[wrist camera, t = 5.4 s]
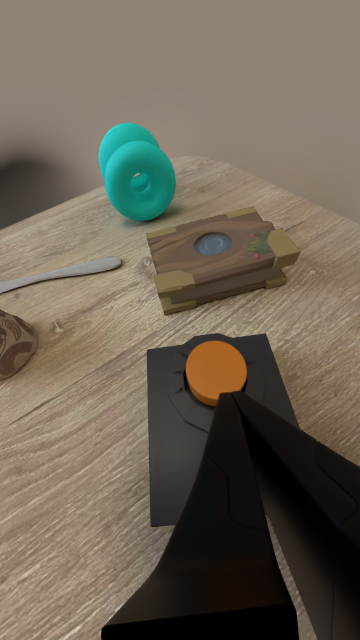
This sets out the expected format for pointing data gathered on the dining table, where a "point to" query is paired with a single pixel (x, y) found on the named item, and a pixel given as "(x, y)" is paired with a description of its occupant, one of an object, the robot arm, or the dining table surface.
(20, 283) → the butter knife
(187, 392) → the black button base
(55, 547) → the dining table surface
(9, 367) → the figurine
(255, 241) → the book
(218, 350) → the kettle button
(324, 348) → the dining table surface
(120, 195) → the donuts
